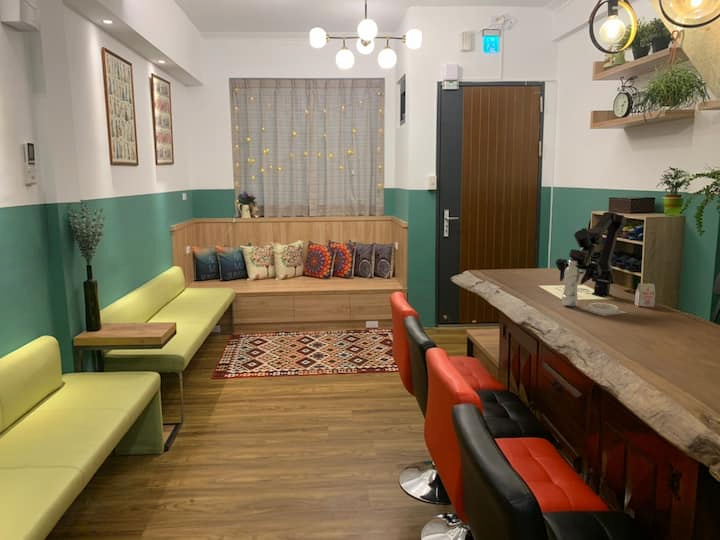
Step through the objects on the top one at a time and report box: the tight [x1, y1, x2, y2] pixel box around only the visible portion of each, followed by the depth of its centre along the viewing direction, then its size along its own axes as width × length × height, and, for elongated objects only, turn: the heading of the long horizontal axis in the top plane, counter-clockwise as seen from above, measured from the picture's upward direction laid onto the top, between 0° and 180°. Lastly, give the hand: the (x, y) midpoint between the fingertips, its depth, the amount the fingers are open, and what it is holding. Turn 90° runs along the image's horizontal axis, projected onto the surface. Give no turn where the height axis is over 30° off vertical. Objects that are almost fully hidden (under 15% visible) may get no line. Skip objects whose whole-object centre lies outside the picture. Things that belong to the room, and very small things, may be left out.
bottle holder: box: [579, 302, 628, 317], centre depth 242 cm, size 13×13×2 cm
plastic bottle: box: [561, 259, 581, 307], centre depth 247 cm, size 6×7×20 cm
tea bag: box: [634, 283, 656, 308], centre depth 251 cm, size 4×7×10 cm, turn 89°
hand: (570, 282), depth 247 cm, fingers open, 9 cm apart
